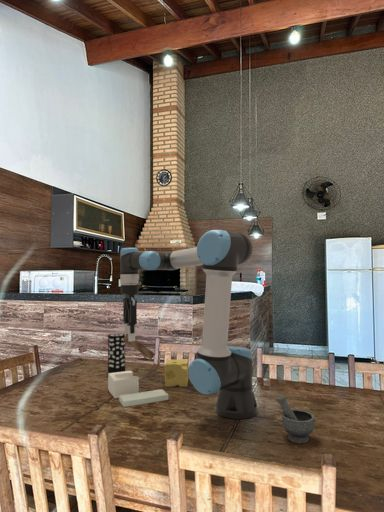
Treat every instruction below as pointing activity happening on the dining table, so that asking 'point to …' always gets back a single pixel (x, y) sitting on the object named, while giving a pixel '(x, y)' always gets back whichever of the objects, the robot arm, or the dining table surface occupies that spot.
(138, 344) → the tile
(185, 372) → the cheese
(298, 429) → the mortar and pestle
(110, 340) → the spotted tube
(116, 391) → the white box holder
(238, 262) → the robot arm
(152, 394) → the white flat bar
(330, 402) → the dining table surface
